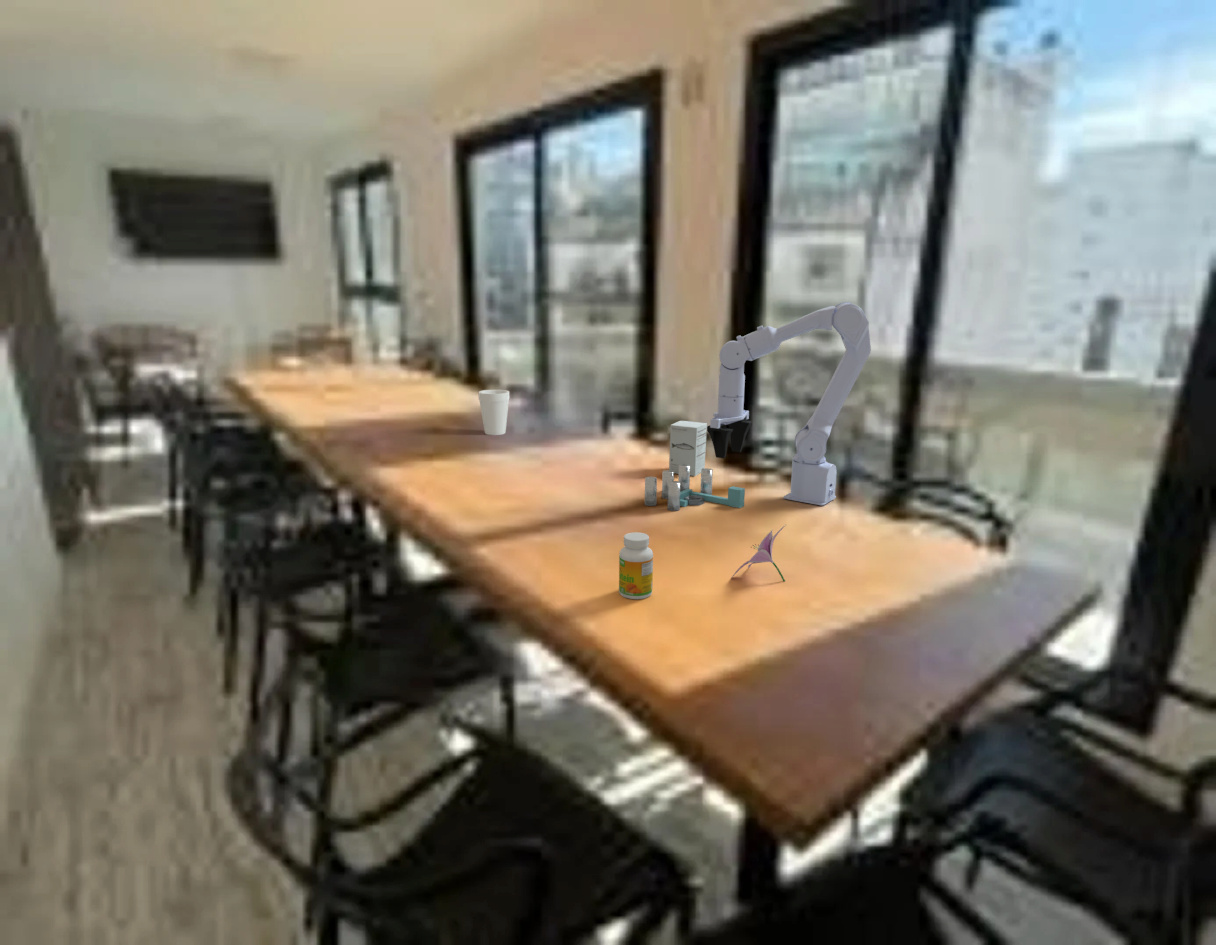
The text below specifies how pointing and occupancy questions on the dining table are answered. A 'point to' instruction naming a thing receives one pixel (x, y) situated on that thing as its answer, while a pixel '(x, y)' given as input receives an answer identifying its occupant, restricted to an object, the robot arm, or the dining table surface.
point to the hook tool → (733, 499)
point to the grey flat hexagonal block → (695, 500)
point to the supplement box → (687, 446)
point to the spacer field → (675, 486)
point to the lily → (764, 552)
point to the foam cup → (494, 410)
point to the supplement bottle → (635, 567)
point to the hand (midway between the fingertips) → (728, 454)
